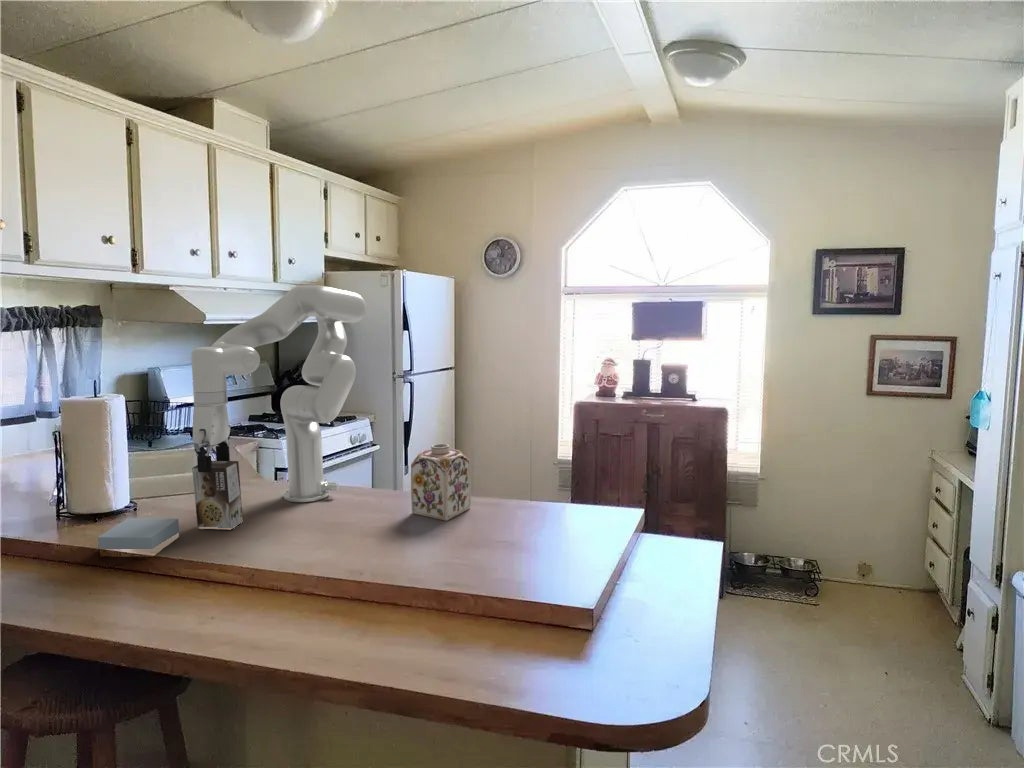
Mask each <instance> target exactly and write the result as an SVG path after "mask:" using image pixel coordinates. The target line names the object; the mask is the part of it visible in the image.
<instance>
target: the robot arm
mask: <svg viewBox="0 0 1024 768" xmlns="http://www.w3.org/2000/svg"><path fill="white" fill-rule="evenodd" d="M366 313H367V303H366V301H365V299H364V298H363V297H362V296H361V295H360V294H359V293H357V292H354V291H349V290H342V289H339V288H335V287H331V286H326V285H318V284H317V285H316V284H315V285H309V284H307V285H304V284H303V285H296V286H294V287H293V288H291V289H290V290H288V291H286V293H285V294H283V295H282V297H280V298H279V299H277V301H276V302H275V303H273V304H272V305H271V306H269V307H268V308H267V309H266V310H264V312H262V313H260V314H258V315H256V316H254V317H252V318H251V319H248V320H247V321H244V322H243V323H240V324H238V325H236V326H235V327H233V328H231V329H230V330H227V332H225V333H224V334H223V335H221V337H219V338H218V339H217V340H216V341H215V342H213V343H212V344H211V346H200V347H195V348H193V350H192V351H191V353H190V355H191V358H190V359H191V372H192V373H191V375H192V392H193V393H192V395H193V405H194V407H193V416H192V444H193V447H194V449H193V450H194V451H195V456H196V459H197V460H196V462H197V465H198V472H211V471H212V461H213V460H212V455H210V453H211V451H212V447H215V461H231V458H230V456H231V455H230V444H231V441H230V438H231V435H230V433H231V426H230V424H229V415H228V414H229V413H228V408H227V407H228V406H227V405H228V402H229V401H228V399H229V398H228V386H227V385H228V383H227V382H228V380H227V376H230V375H231V376H232V375H234V376H246V375H250V374H252V373H254V372H255V371H256V370H257V369H258V368H259V366H260V362H261V357H260V354H259V352H258V351H257V350H256V349H255V348H256V347H260V346H264V345H268V344H273V343H275V342H279V341H282V340H284V339H285V338H288V336H289V335H290V334H292V333H293V331H295V330H296V329H297V328H298V327H300V325H302V323H304V322H305V321H306V320H307V319H308V318H310V317H313V318H315V320H316V323H317V326H318V329H317V330H318V332H317V337H316V339H315V341H314V343H313V345H312V348H311V350H310V351H309V353H308V355H307V357H306V359H305V361H304V363H303V365H302V369H301V377H302V379H303V381H305V383H308V384H309V385H313V386H309V385H300V384H299V385H292V386H290V387H287V388H286V389H285V390H284V391H283V392H282V395H281V398H280V403H279V404H280V410H281V415H282V419H283V423H284V430H285V440H286V441H285V442H286V445H285V446H286V457H287V458H286V459H287V462H286V464H287V477H288V489H286V490H285V491H284V492H283V499H284V500H285V501H287V502H291V503H292V502H293V503H309V502H315V501H320V500H323V499H325V498H327V497H328V496H330V493H331V491H332V492H336V491H337V492H338V491H339V484H338V483H337V482H336V481H335V482H329V481H327V477H325V476H324V465H323V464H324V463H323V445H322V444H323V443H322V440H323V439H322V431H321V427H320V424H328V423H331V422H333V421H334V420H335V419H336V418H337V416H338V415H339V413H340V412H341V411H342V409H343V406H344V404H345V401H346V400H347V397H348V396H349V393H350V391H351V389H352V387H353V384H354V382H355V379H356V373H357V369H356V365H355V362H354V360H352V358H351V357H350V356H348V355H346V354H344V353H345V350H346V347H347V346H348V345H347V344H348V337H347V333H346V330H345V326H344V324H343V323H345V324H354V323H355V324H356V323H358V322H360V321H362V319H364V318H365V315H366ZM316 386H318V387H316ZM319 423H320V424H319ZM205 448H206V449H205Z"/></svg>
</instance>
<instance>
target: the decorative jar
mask: <svg viewBox="0 0 1024 768" xmlns="http://www.w3.org/2000/svg"><path fill="white" fill-rule="evenodd" d="M471 490H472V489H471V461H470V459H469V458H468V456H466V454H464V453H463V452H462V451H461V450H459V449H455V448H450V445H449V444H446V443H437V444H433V445H431V446H430V449H426V450H423V451H419V453H418V454H417V455H416V457H415V458H414V460H413V461H412V462H411V463H410V500H411V513H412V514H413V515H417V516H422V517H427V518H432V519H436V520H440V521H446V522H447V521H449V520H451V519H453V518H455V517H457V516H460V515H461V514H462V513H464V512H466V511H468V510H469V509H471V506H472V505H471V503H472V500H471V498H472V495H471V492H472V491H471Z"/></svg>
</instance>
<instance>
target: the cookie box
mask: <svg viewBox="0 0 1024 768" xmlns="http://www.w3.org/2000/svg"><path fill="white" fill-rule="evenodd" d="M239 463H240V462H239V460H230V461H216V460H212V471H211V472H198V464H197V465H194V466H193V467H192V468H191V469H192V482H193V491H194V493H193V494H194V501H195V503H194V504H195V513H196V523H197V524H196V525H197V526H196V527H197V528H198V527H218V528H233V527H234V526H236V525H238V524H240V523H241V524H243V523H244V518H243V505H242V504H243V503H242V492H241V491H242V489H241V478H240V466H239ZM242 522H243V523H242ZM241 524H240V525H241Z"/></svg>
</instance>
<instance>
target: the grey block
mask: <svg viewBox="0 0 1024 768" xmlns="http://www.w3.org/2000/svg"><path fill="white" fill-rule="evenodd" d="M179 525H180V524H179V518H165V517H164V518H162V517H161V518H155V517H153V518H151V517H150V518H148V517H145V518H141V517H139V518H138V517H137V518H136V517H134V518H133V517H132V518H131V517H130V518H129V517H128V518H126V519H124V521H122V522H120V523H118V524H117V525H115V526H114V527H112V528H110V529H109V530H107V531H106V532H104V533H102V534H101V535H99V536H97V544H98V545H97V546H98V550H99V549H153V548H155V547H156V546H158V545H159V544H161V543H162V542H164V541H166V540H167V539H169V538H171V537H172V536H174V535H176V534H177V533H179V534H180V526H179Z"/></svg>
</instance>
